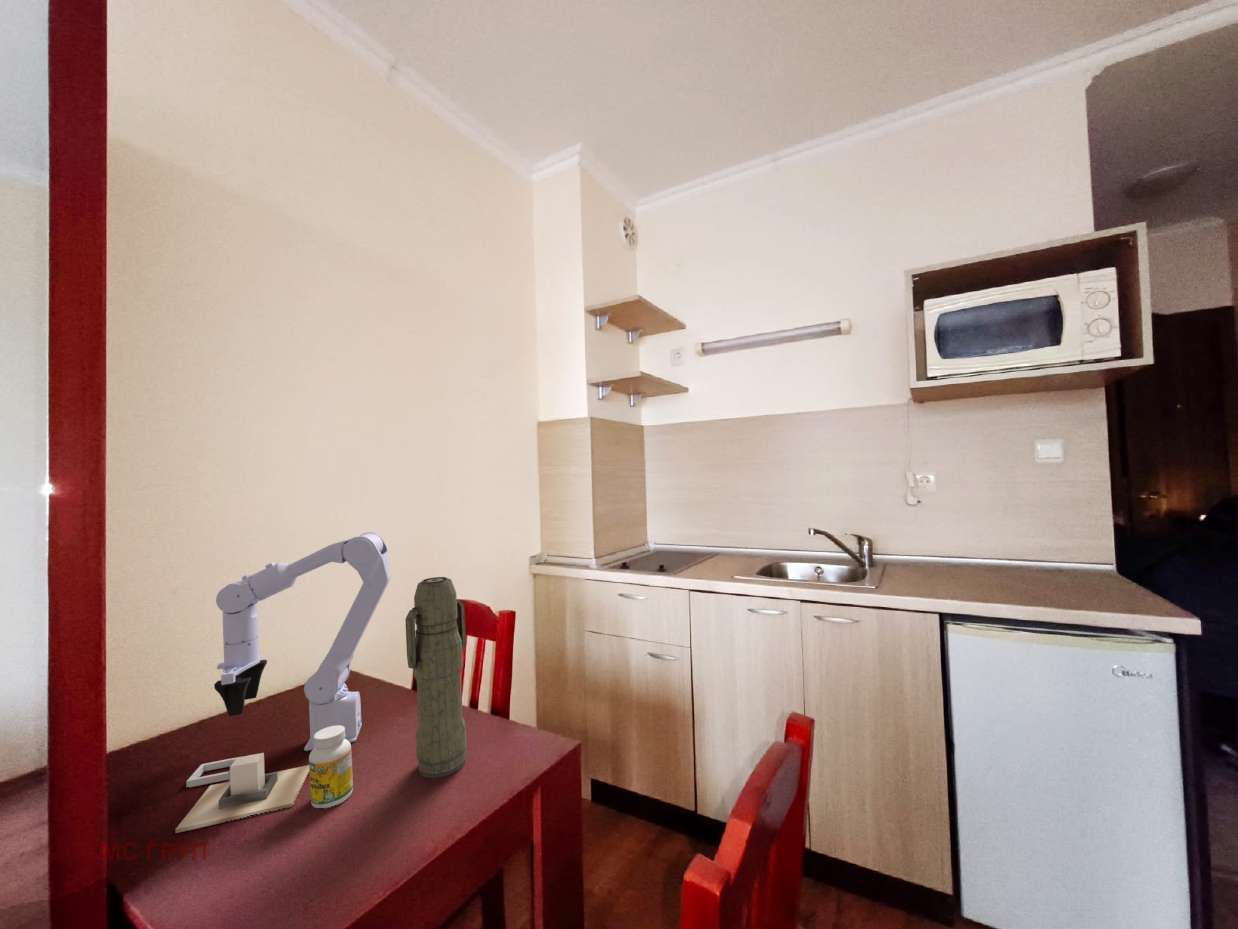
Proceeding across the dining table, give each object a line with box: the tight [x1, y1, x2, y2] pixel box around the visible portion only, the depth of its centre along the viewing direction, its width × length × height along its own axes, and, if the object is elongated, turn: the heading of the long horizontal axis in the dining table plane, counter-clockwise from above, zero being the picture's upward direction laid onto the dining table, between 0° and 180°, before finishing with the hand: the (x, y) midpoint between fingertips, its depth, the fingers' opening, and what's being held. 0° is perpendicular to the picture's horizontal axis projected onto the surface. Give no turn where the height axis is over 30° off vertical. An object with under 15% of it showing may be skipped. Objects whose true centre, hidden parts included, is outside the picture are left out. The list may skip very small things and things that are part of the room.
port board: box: [174, 764, 310, 834], centre depth 87 cm, size 16×12×2 cm
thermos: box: [405, 576, 467, 779], centre depth 95 cm, size 9×12×35 cm
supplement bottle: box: [308, 725, 354, 809], centre depth 86 cm, size 6×6×11 cm
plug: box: [227, 752, 266, 796], centre depth 87 cm, size 4×3×6 cm, turn 107°
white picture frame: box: [185, 756, 243, 789], centre depth 94 cm, size 7×6×1 cm
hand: (243, 706), depth 102 cm, fingers open, 7 cm apart
